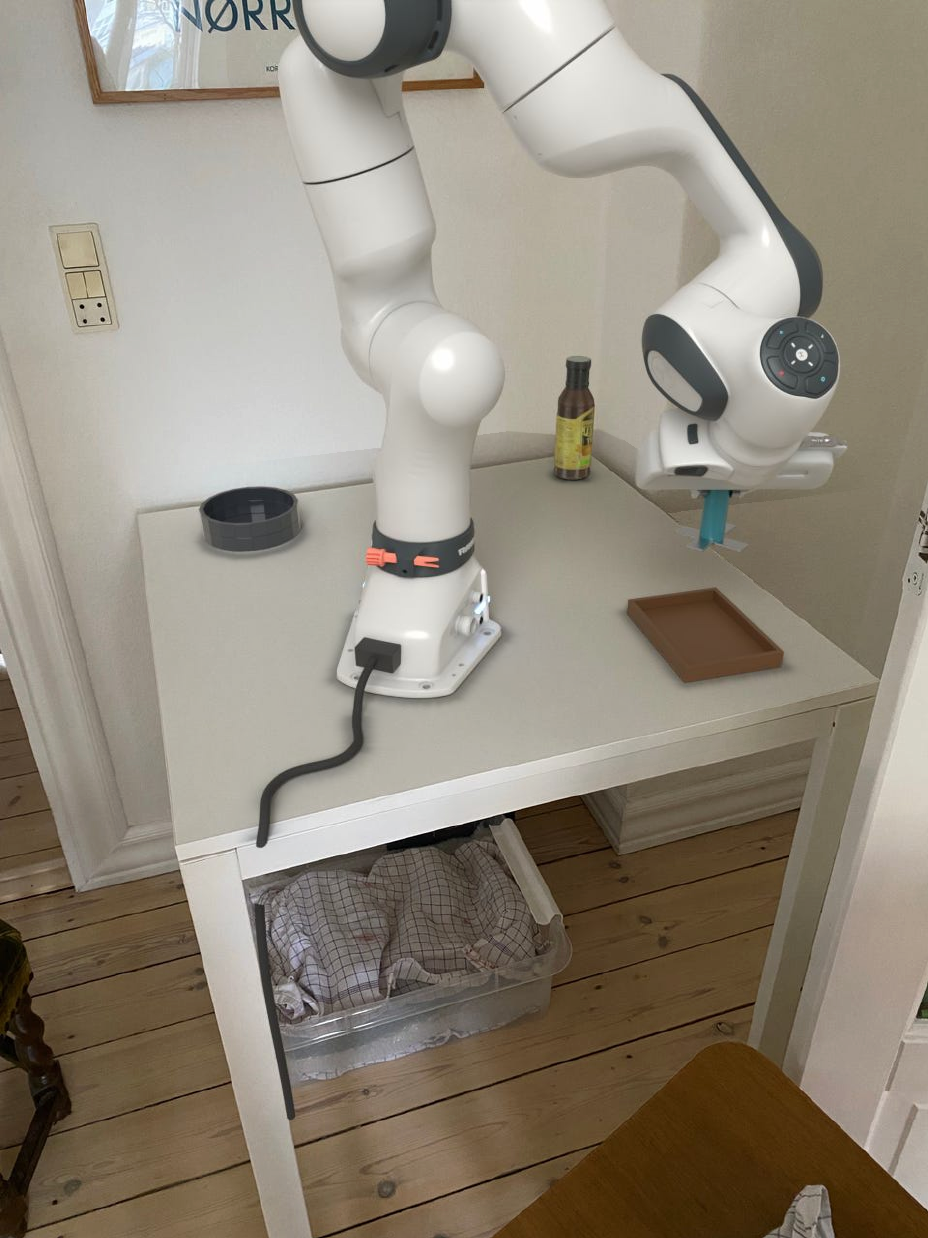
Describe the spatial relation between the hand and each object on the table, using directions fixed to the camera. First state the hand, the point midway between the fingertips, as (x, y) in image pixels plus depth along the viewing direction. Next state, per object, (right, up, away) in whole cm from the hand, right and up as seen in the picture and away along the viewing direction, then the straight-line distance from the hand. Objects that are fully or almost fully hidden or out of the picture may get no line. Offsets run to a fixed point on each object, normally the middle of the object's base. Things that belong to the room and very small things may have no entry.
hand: (715, 492), depth 105 cm
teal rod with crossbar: (0, -5, +2) cm, 6 cm away
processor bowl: (-61, -2, +33) cm, 69 cm away
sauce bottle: (-10, +10, +53) cm, 55 cm away
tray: (0, -17, +6) cm, 18 cm away
